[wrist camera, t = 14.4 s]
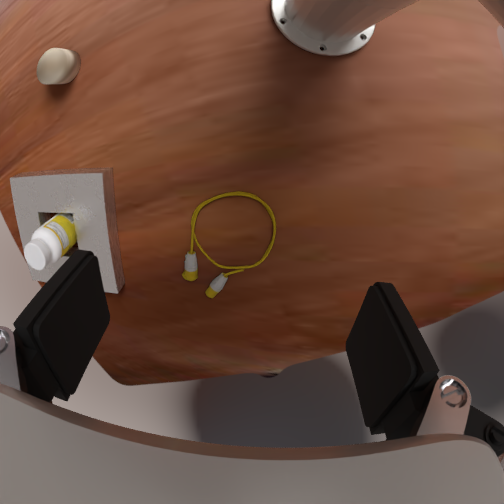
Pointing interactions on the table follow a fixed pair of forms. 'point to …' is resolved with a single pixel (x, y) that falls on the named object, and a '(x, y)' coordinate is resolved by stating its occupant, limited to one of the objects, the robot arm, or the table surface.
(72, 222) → the supplement bottle
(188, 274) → the extension cord
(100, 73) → the table surface
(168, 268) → the table surface
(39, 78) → the short stub
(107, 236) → the hole plate
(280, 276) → the table surface
